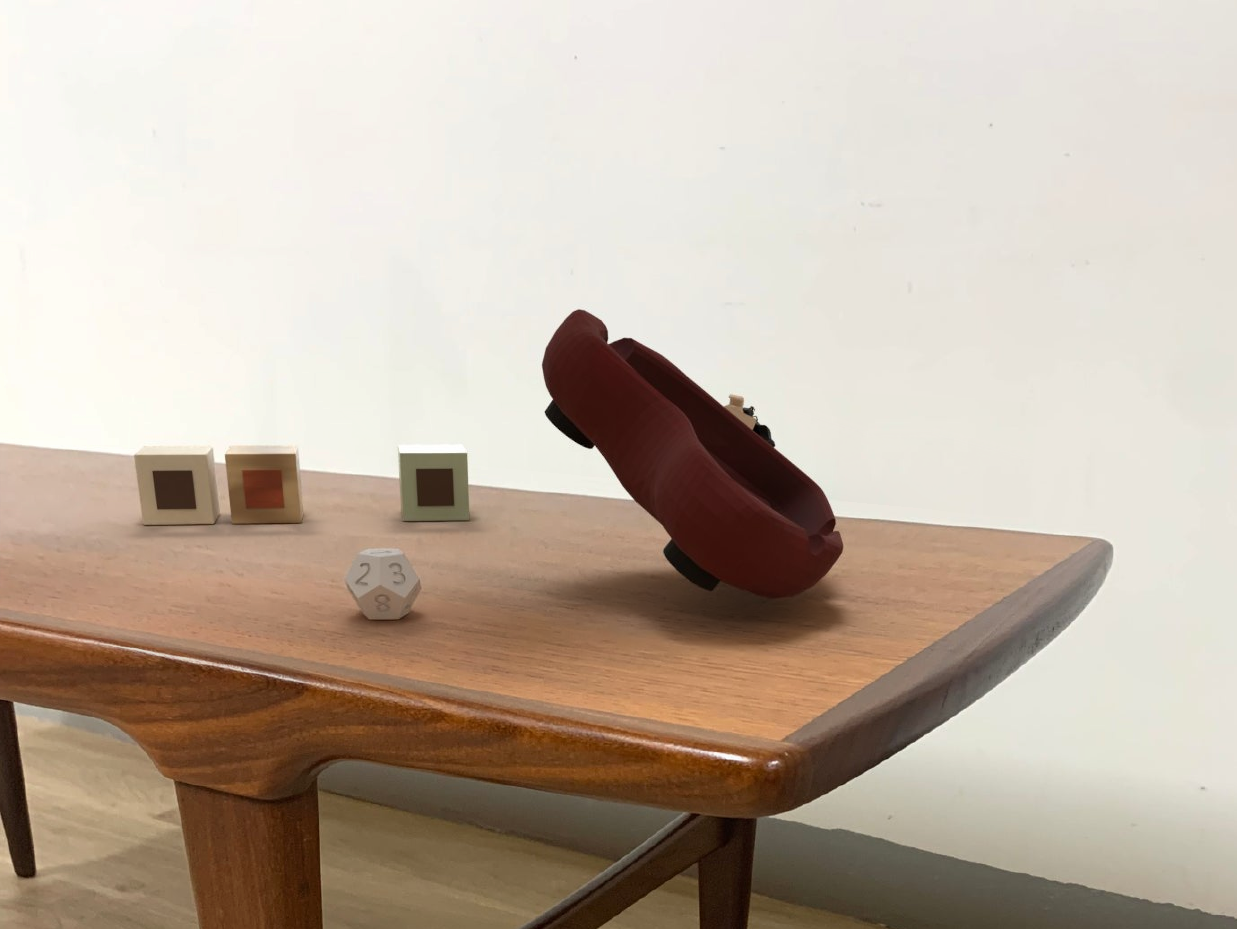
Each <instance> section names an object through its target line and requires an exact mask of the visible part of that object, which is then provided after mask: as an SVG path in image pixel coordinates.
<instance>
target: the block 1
mask: <svg viewBox="0 0 1237 929" xmlns="http://www.w3.org/2000/svg"><path fill="white" fill-rule="evenodd" d="M133 457H134V465H135V474H136V480H137V487H138V488H137V489H138V496H139V504H140V511H141V518H142V525H143V526H173V525H174V526H178V525H179V526H180V525H184V526H185V525H214V524H215V523H216V521H217V520H218V518H219V515H220V514H221V509H220V508H221V507H220V498H219V489H218V482H217V480H218V479H217V471H216V462H215V453H214V446H212V445H145V446H143V447H141V448H140V449H139V450H138V451H136V452H135V453H134V454H133Z"/></svg>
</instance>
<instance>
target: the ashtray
mask: <svg viewBox="0 0 1237 929" xmlns="http://www.w3.org/2000/svg"><path fill="white" fill-rule="evenodd" d="M608 342H609V330H608V328H607V326H606V324H605V323H604V322H603V320H602V319H600V318H598V317H597V316H595V315H594V314H592V313H591V312H589V311H587V310H585V309H579V308H578V309H575V310H573V311H571V312H570V314H568V315H567V316H566V318H564V320H563V321H562V322H561V324H559V326H558V327H557V329H556V330H555V331H554V333H553V335H552V336H551V338H550V340H549V342H548V343H547V345H546V347H545V349H544V354H543V358H542V362H541V368H542V376H543V380H544V381H543V382H544V384H545V387H546V390H547V392H548V393H549V396H550V397H551V399H552V400H551V401H550V403H549V404H548V406H547V407H546V409H545V410H544V415H545V417H546V418H547V419H548V421H549V422H550V423H551V424H552V425H553V426H554V428H556V429H557V430H558V431H560V432H561V433H562V434H563V435H564V436H566V437H567V438H568V439H570V440H571V441H573V442H574V443H575V444H577V445H578V446H579V445H580V446H581V447H583V448H585V449H588V450H593V448H594V447H595V448H596V449H597V451H598V452H599V453H600V455H601V456H602V457H603V458H604V461H605V462H606V463H607V464H608V466H609V468H610V469H611V471H612V472H613V474H614V475H615V477H616V478H617V480H618V481H619V483H620V485H621V486H622V487H623V489H624V490H625V491H626V493H628V495H629V496H630V497H631V498H632V500H633V501H634V502H635V503H637V504H638V506H640V507H641V508H643V510H645V511H646V512H647V513H648V514H649V515H650V516H651V517H652V518H653V519H655V520H656V521H657V522H658V523H659V524H660V525H661V526H662V527H663V529H664V530H665V532H666V533H667V535H668V536H669V537H670V538H671V539H670V540H669V542H668V543H667V544H666V545H665V546H664V548H663V549H662V553H663V555H664V557H665V558H666V560H667V561H668V563H669V564H670V565H671V567H672V568H674V569H675V570H676V571H677V572H678V573H679V574H680V575H682V576H683V577H684V578H685V579H687V581H689V582H690V583H692V585H693V584H694V585H695V586H697V587H698V588H700V589H703V590H705V591H709V592H712V591H714V590H715V589H716V588H717V587H718V585H719V584H720V583H721V582H722V583H724V584H726V585H729V586H731V587H734V588H736V589H739V590H741V591H744V592H747V593H748V594H749V593H750V594H752V595H754V596H759V597H761V598H767V599H770V600H773V599H781V598H788V597H795V596H799V595H800V594H802V593H804V592H805V591H807V590H809V589H811V588H813V587H815V586H816V585H817V584H818V583H819V582H821V580H822V579H823V578H824V577H825V576H826V575H827V574H829V572H830V570H831V569H832V568H833V567H834V565H835V564H836V563H837V561H838V560H839V558H840V557H841V555H842V554H843V551H844V542H843V539H842V535H841V533H840V531H839V530H835V527H836V525H837V519H836V516H835V514H834V511H833V508H832V506H831V504H830V501H829V500H828V497H827V495H826V494H825V492H824V489H823V488H822V487H820V486H819V484H818V483H817V482H815V480H814V479H812V478H811V476H809V475H807V473H805V472H804V471H803V470H802V469H800V468H799V467H798V466H797V465H796V464H795V463H793V462H792V461H791V460H790V459H789V458H787V457H786V456H785V455H784V454H782V453H781V452H780V451H779V450H777V449H776V448H775V447H773V446H771V445H770V444H769V443H768V442H767V441H765V440H764V439H763V438H762V437H760V436H759V435H758V434H757V433H756V432H754V431H753V430H752V429H751V428H749V427H748V426H747V425H746V424H745V423H743V422H742V421H741V420H740V419H738V418H737V417H736V416H735V415H733V414H732V413H731V412H730V411H729V410H727V409H726V408H725V407H724V406H725V405H722V404H721V403H720V402H719V401H718V400H717V399H715V398H714V397H713V396H712V395H711V394H710V393H709V392H707V391H706V390H705V389H704V388H703V387H701V386H700V385H699V384H698V383H696V382H695V381H694V380H693V379H692V378H690V377H689V376H687V374H686V373H685V372H683V371H682V370H681V369H680V368H679V367H678V366H677V365H675V364H674V363H673V362H672V361H671V360H670V359H668V358H667V357H666V356H664V355H663V354H661V353H659V352H658V351H656V350H654V349H653V348H650V347H648V346H646V345H645V344H643V343H641V342H640V341H637V340H635V339H634V338H632V337H622V338H619V339H617V340H614V341H612V342H610V343H608Z"/></svg>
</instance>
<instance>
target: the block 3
mask: <svg viewBox="0 0 1237 929" xmlns="http://www.w3.org/2000/svg"><path fill="white" fill-rule="evenodd" d="M397 459H398V460H397V463H398V477H399V478H398V480H399V498H400V511H401V516H402V521H403V522H447V521H448V522H449V521H450V522H452V521H457V522H458V521H459V522H460V521H470V493H469V492H470V490H469V465H468V464H469V462H468V452H467V450H466V449H465V447H464V446H463V444H397Z"/></svg>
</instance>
